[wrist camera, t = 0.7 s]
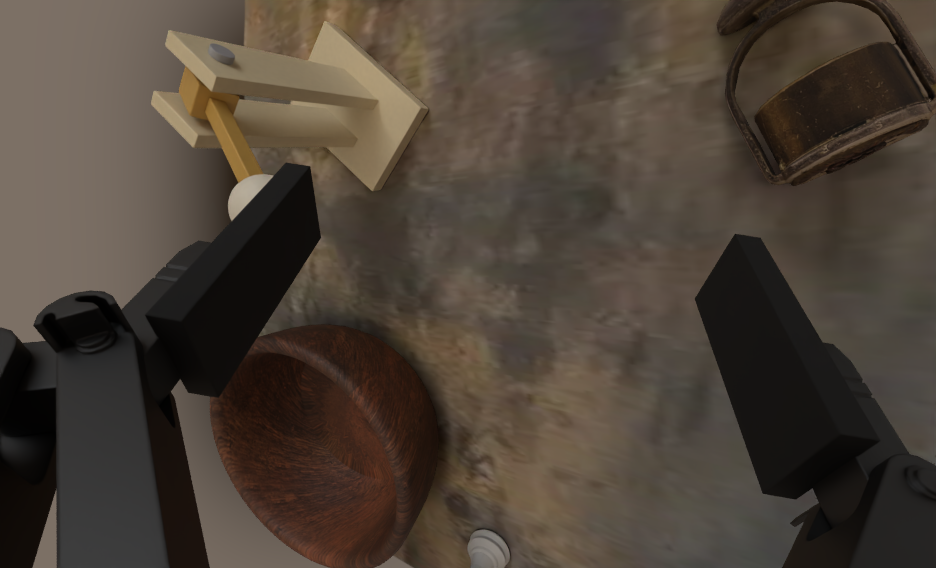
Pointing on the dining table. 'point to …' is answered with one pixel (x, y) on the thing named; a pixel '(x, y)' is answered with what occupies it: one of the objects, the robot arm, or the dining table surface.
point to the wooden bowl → (329, 442)
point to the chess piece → (487, 550)
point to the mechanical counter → (832, 95)
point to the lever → (225, 137)
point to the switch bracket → (302, 100)
